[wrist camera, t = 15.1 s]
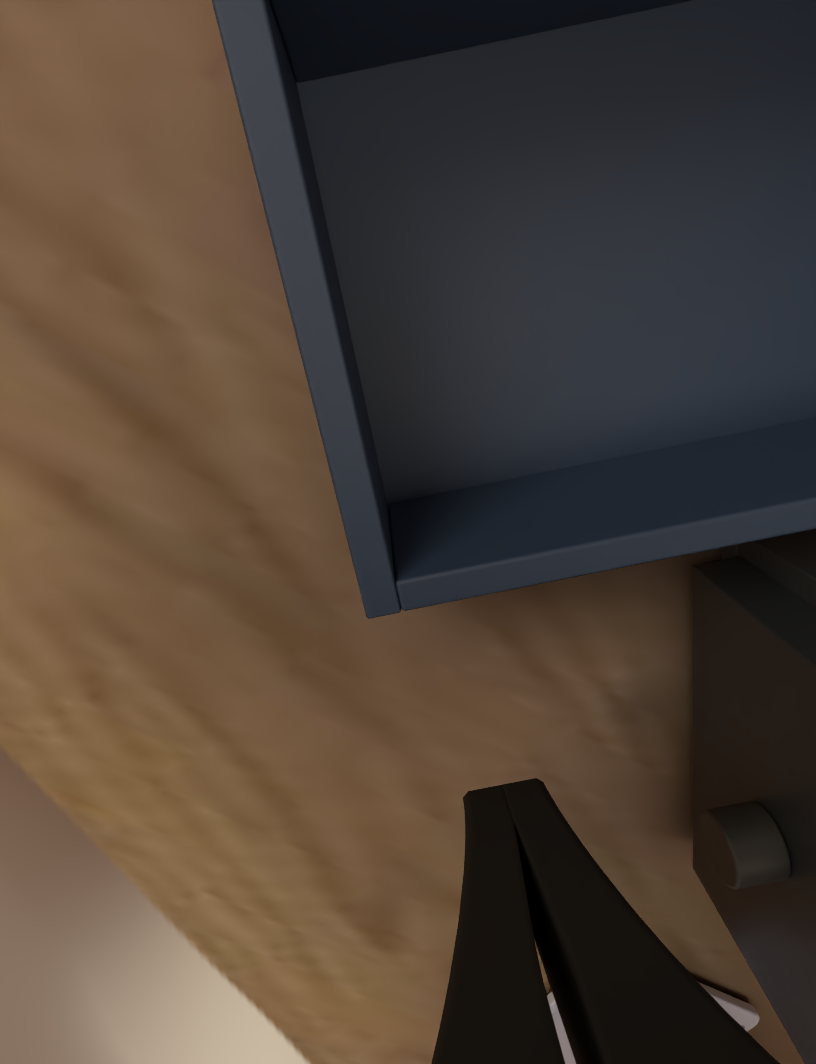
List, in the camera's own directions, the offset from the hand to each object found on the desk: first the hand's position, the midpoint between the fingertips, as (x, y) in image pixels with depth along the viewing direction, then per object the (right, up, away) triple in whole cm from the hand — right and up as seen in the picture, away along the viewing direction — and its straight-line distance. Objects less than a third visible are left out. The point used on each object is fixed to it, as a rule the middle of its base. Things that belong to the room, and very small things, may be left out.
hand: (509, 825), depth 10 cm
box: (+3, +11, +2) cm, 11 cm away
